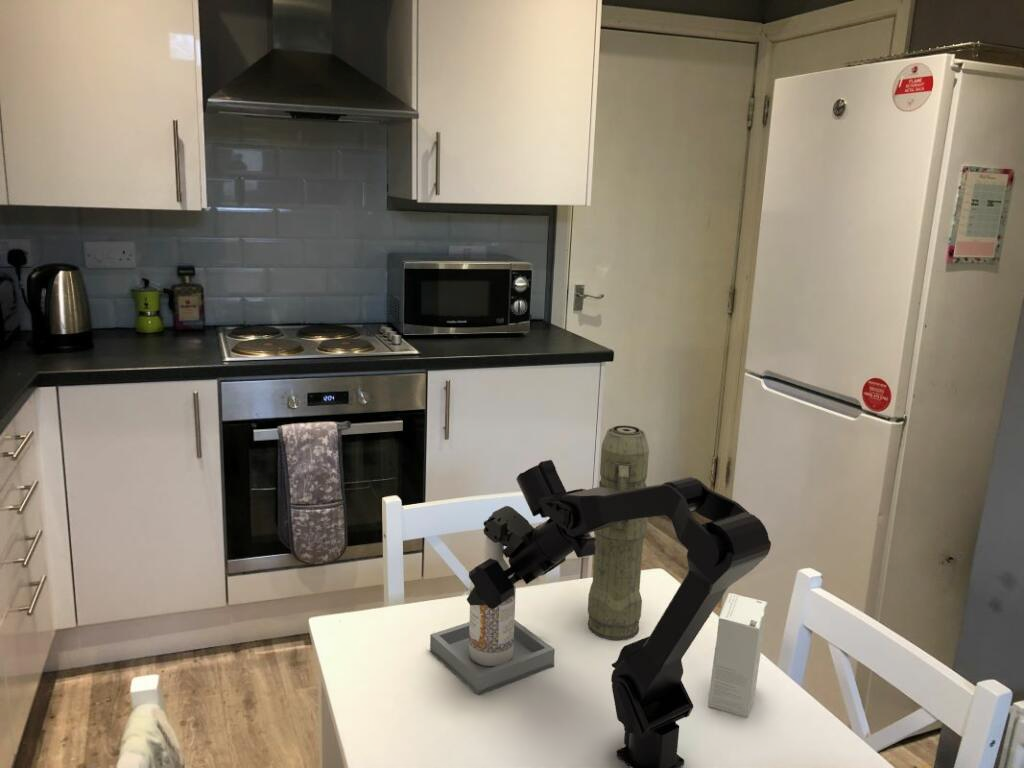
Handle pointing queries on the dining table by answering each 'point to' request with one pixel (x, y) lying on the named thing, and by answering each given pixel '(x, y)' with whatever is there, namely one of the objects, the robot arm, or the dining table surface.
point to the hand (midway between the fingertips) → (486, 590)
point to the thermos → (619, 540)
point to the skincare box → (737, 654)
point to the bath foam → (492, 621)
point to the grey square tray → (481, 679)
